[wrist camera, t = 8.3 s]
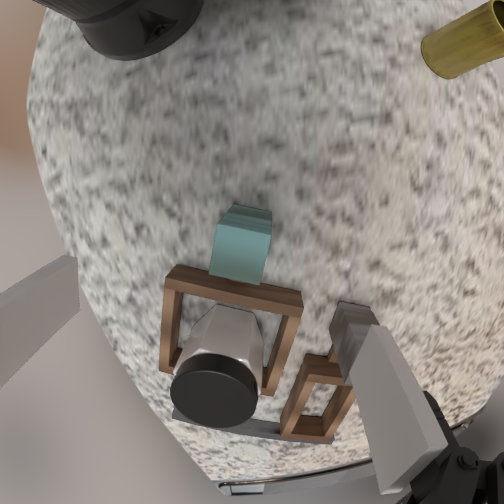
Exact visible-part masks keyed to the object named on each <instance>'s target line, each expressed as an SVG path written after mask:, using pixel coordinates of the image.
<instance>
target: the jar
mask: <svg viewBox="0 0 504 504" xmlns="http://www.w3.org/2000/svg"><path fill="white" fill-rule="evenodd" d="M263 353H264V342H263V339H262V336H261V333H260V330H259V327H258V324H257V322H256V319H255V316H254V314H253V313H251V312H246V311H242V310H238V309H234V308H230V307H226V306H222V305H218V304H216V305H215V306H214V307H213V308H212V309H211V310H210V311H209V312H208V313H207V314H206V315H204V316H203V317H202V318H201V319H200V320H199V321H198V322H197V323H196V324H195V325H194V326H193V328H192V330H191V333H190V335H189V337H188V339H187V341H186V344H185V346H184V348H183V350H182V352H181V355H180V357H179V359H178V361H177V364H176V366H175V368H174V370H173V374H174V375H175V377H174V379H173V382H172V384H171V387H170V396H171V400H172V402H173V404H174V406H175V407H176V408H177V410H178V411H179V412H180V413H181V414H182V415H184V416H185V417H186V418H188V419H190V420H191V421H193V422H195V423H198V424H200V425H203V426H207V427H213V428H230V427H235V426H238V425H240V424H242V423H244V422H246V421H247V420H249V419H250V418H251V417H252V415H253V414H254V412H255V409H256V405H257V400H258V395H260V394H261V387H262V370H263Z"/></svg>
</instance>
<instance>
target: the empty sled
mask: <svg viewBox="0 0 504 504" xmlns="http://www.w3.org/2000/svg"><path fill="white" fill-rule="evenodd" d="M371 324H373V325H379V326H380V324H379V322H378V321H377V319H376V317H375V316H374V314H373V312H372V311H371V309H370V307H366V306H361V305H355V304H350V303H345V302H340V301H339V304H338V307H337V309H336V312H335V315H334V318H333V320H332V323H331V326H330V328H329V332H330V336H331V339H332V342H333V345H332V348H331V350H330V352H329V355H328V357H322V356H316V355H309V354H306V356H305V358H304V361H303V364H302V366H301V369H300V371H299V374H298V376H297V379H296V381H295V384H294V386H293V389H292V391H291V394H290V396H289V398H288V401H287V403H286V406H285V408H284V410H283V413H282V415H281V417H280V438H289V439H298V440H310V441H324V442H329V441H330V439H331V438H332V436H333V435H334V433H335V431H336V430H337V428H338V427H339V425H340V424H341V422H342V420H343V419H344V417H345V415H346V414H347V412H348V410H349V409H350V407H351V405H352V404H353V402H354V400H355V398H356V396H355V392H354V389H353V385H352V382H351V378H350V375H349V372H350V370H351V368H352V366H353V364H354V362H355V360H356V358H357V355H358V353H359V351H360V349H361V347H362V345H363V342H364V340H365V338H366V336H367V334H368V331H369V329H370V327H371ZM315 382H316V383H324V384H332V385H338V387H337V389H336V391H335V393H334V395H333V397H332V399H331V401H330V403H329V405H328V406H327V408H326V410H325V412H324V414H323V416H322V417H321V418H320V417H310V416H301V415H300V414H301V412H302V410H303V408H304V406H305V404H306V402H307V400H308V398H309V396H310V393H311V391H312V389H313V387H314V385H315Z"/></svg>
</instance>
